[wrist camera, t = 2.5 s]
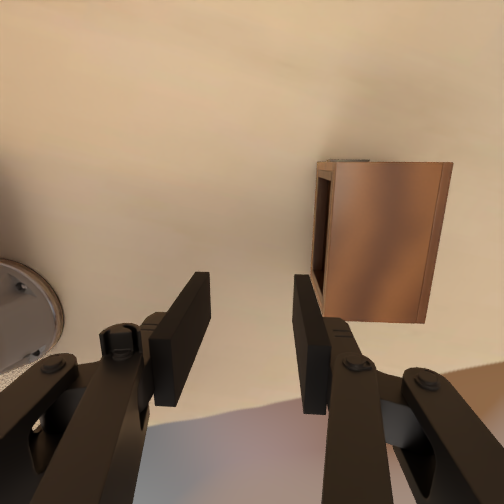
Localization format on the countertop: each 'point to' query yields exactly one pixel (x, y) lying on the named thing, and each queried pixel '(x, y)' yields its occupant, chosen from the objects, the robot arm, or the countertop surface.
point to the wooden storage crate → (377, 238)
